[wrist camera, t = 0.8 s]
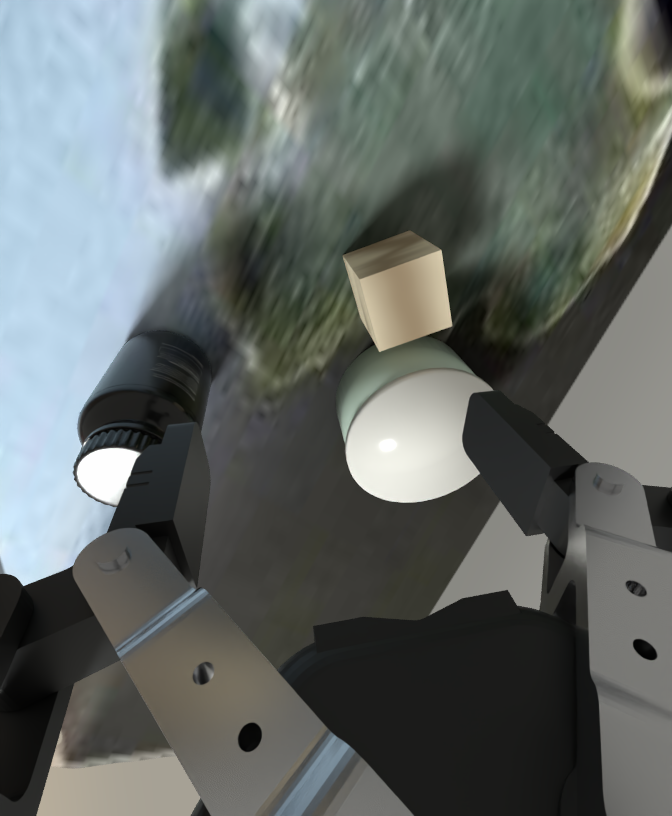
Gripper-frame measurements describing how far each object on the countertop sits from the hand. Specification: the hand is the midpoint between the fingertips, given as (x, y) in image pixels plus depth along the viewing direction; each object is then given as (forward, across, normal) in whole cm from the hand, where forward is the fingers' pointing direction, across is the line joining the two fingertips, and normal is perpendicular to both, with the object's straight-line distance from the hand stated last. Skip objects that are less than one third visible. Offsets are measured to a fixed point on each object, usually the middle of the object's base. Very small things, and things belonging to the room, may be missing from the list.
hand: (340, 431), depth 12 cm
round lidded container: (+20, -9, +11) cm, 25 cm away
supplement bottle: (+20, +10, +7) cm, 24 cm away
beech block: (+20, -7, 0) cm, 21 cm away
